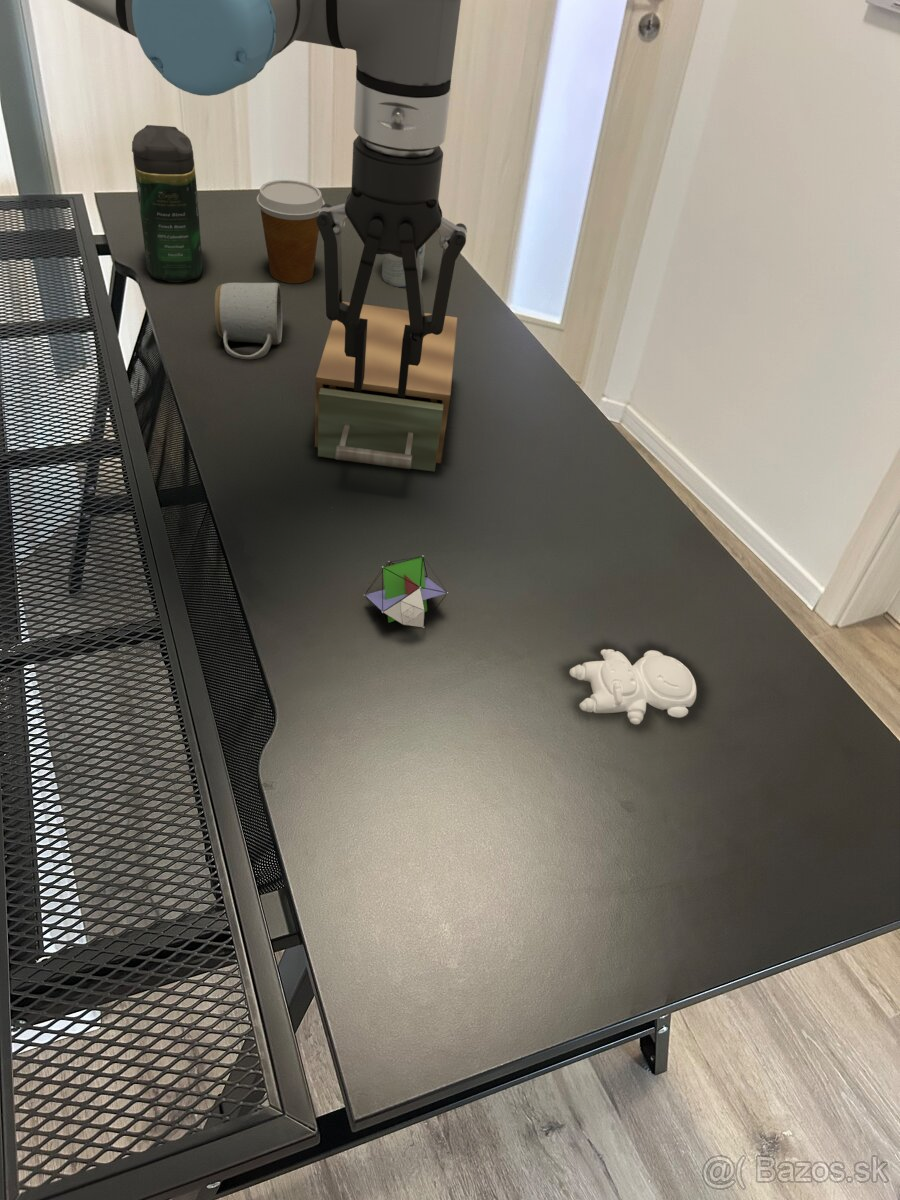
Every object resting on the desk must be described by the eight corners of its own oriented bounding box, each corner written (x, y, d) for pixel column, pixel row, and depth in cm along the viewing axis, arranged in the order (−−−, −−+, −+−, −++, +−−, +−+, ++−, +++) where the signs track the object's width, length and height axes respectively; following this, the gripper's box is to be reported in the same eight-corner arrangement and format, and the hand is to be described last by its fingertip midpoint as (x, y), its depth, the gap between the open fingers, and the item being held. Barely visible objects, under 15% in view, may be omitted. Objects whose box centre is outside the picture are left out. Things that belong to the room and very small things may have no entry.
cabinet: (439, 469, 99) (450, 395, 92) (314, 453, 99) (315, 376, 91) (447, 388, 112) (457, 317, 104) (336, 373, 111) (338, 300, 104)
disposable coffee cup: (247, 266, 128) (243, 184, 120) (301, 255, 133) (300, 174, 125) (281, 294, 124) (280, 210, 115) (336, 280, 129) (338, 199, 120)
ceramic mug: (222, 322, 116) (218, 267, 111) (283, 326, 117) (282, 273, 112) (213, 364, 109) (208, 308, 103) (278, 368, 110) (277, 314, 105)
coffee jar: (205, 284, 123) (193, 147, 110) (147, 284, 121) (128, 144, 108) (202, 254, 129) (190, 121, 116) (147, 254, 127) (129, 118, 114)
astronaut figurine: (562, 654, 82) (569, 633, 79) (681, 657, 83) (691, 636, 81) (578, 729, 76) (586, 709, 73) (706, 731, 77) (718, 711, 75)
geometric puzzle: (349, 574, 82) (373, 558, 75) (412, 556, 85) (442, 540, 78) (371, 644, 82) (397, 636, 75) (434, 625, 85) (465, 615, 78)
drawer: (431, 503, 93) (440, 441, 88) (309, 487, 93) (309, 424, 87) (442, 393, 109) (450, 334, 103) (338, 379, 108) (340, 319, 102)
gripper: (289, 140, 67) (291, 396, 84) (499, 172, 68) (460, 418, 85) (305, 111, 73) (304, 357, 89) (499, 140, 73) (463, 378, 90)
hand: (380, 386), depth 87 cm, fingers open, 4 cm apart
